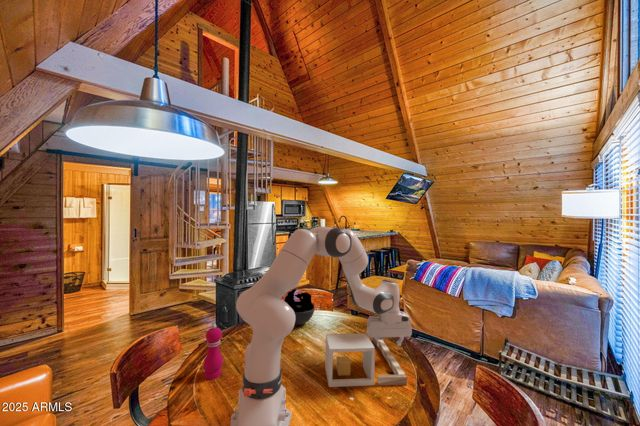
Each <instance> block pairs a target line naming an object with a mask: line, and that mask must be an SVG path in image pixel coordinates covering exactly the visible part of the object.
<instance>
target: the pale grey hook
mask: <svg viewBox="0 0 640 426" xmlns="http://www.w3.org/2000/svg"><path fill="white" fill-rule="evenodd" d="M378 341H380V342H381V347H378V346H377V341H376V339H375V338H372V344H373V345H374V347H378V349H379V351H380V353H381V354H382V355H383V357H384V359H385V360H386V362H387V364H388V365H389V368H390V369H391V371H392V372H393V374H377V385H378V386H403V385H404V386H405V385H406V386H407V385H408V376H407V375H406V373H405V372H404V370H403V368H402V367H401V365H400V364H399V362H398V361H397V360H396V358H395V357H394V355H393V354H392V352H391V350H390V349H389V347H388V346H387V344H386V339H385V337H380V338H379V340H378Z"/></svg>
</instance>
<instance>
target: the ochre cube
mask: <svg viewBox="0 0 640 426" xmlns="http://www.w3.org/2000/svg"><path fill="white" fill-rule="evenodd" d="M349 357H350V356H345V355H343V356H336V363H335V364H336V365H335V367H336V372H337V375H338V377H339V376H351V374H352V373H351V371H352V370H351V368H352V367H351V365H352V362H351V360H350V358H349Z"/></svg>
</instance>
